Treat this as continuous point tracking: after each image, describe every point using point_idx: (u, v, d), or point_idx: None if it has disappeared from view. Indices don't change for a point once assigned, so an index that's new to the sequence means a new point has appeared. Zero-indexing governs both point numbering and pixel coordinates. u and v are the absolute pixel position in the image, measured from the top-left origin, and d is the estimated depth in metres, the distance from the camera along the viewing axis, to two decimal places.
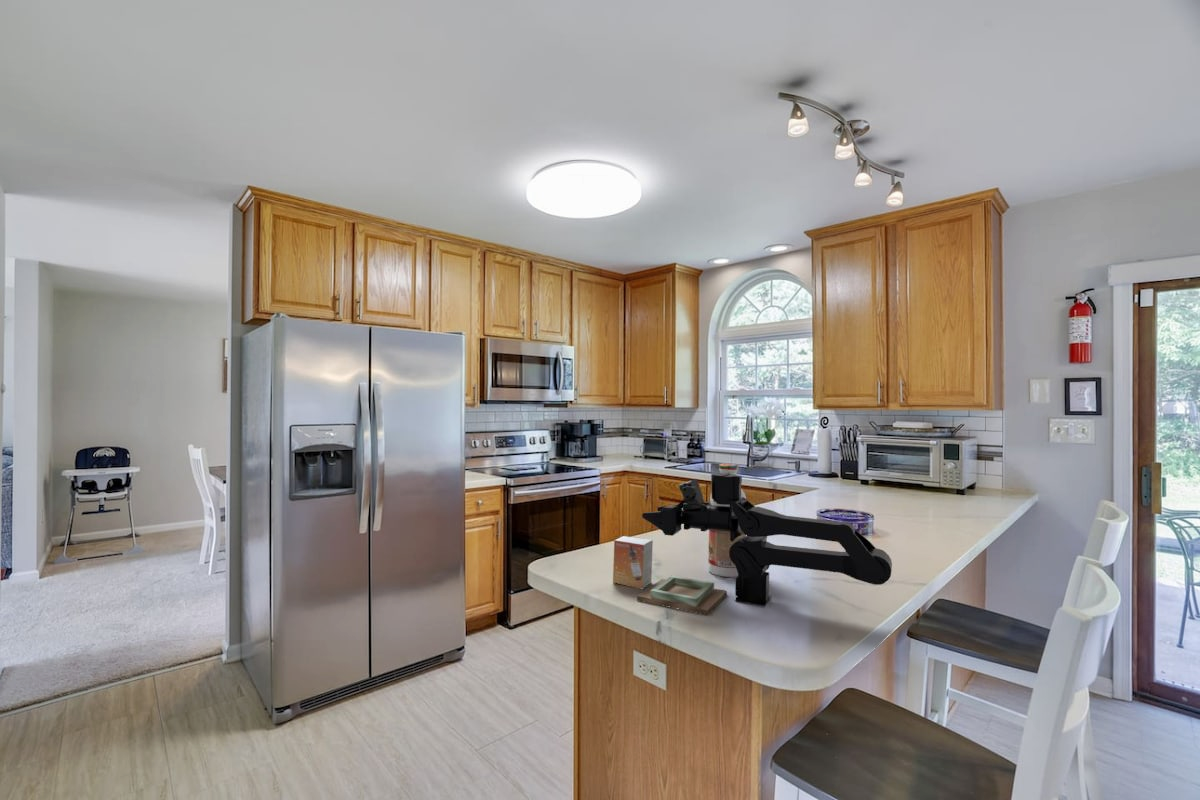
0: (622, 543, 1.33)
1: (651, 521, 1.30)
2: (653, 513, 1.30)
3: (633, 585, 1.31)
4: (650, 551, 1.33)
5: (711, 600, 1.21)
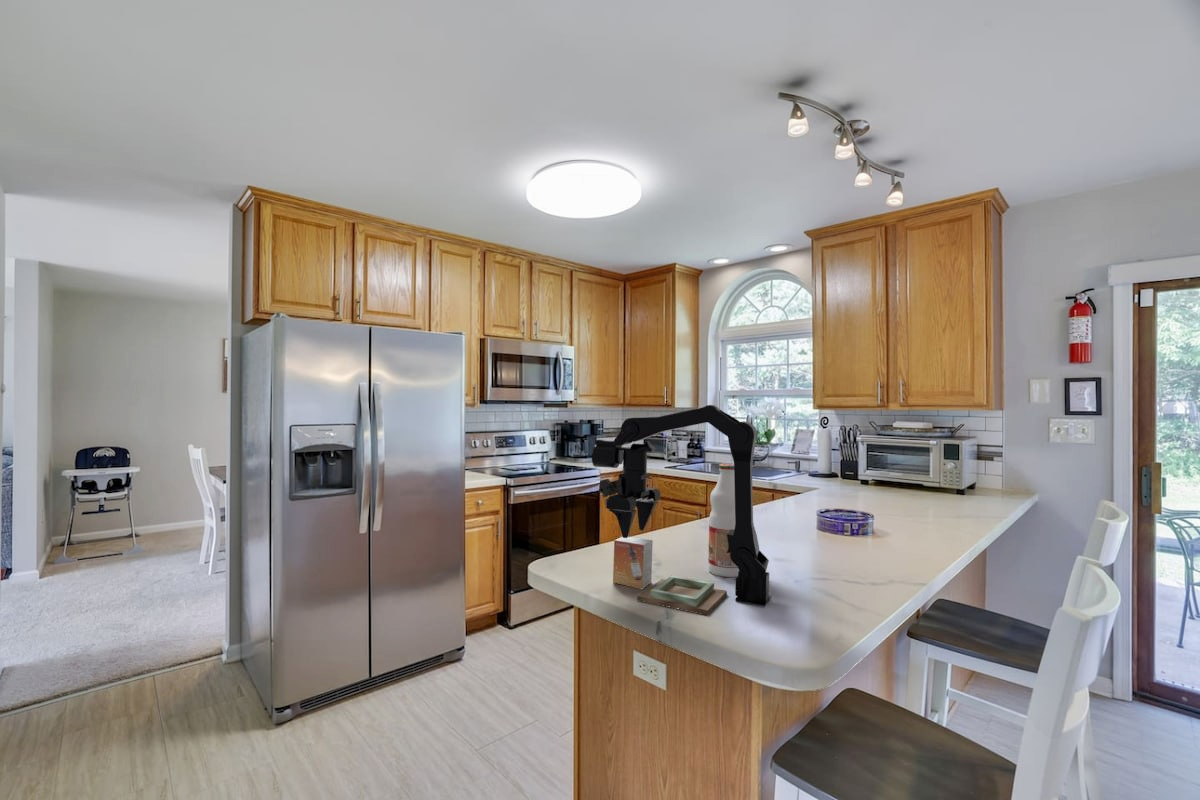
0: (622, 543, 1.33)
1: (627, 527, 1.29)
2: (619, 524, 1.30)
3: (633, 585, 1.31)
4: (650, 551, 1.33)
5: (711, 600, 1.21)
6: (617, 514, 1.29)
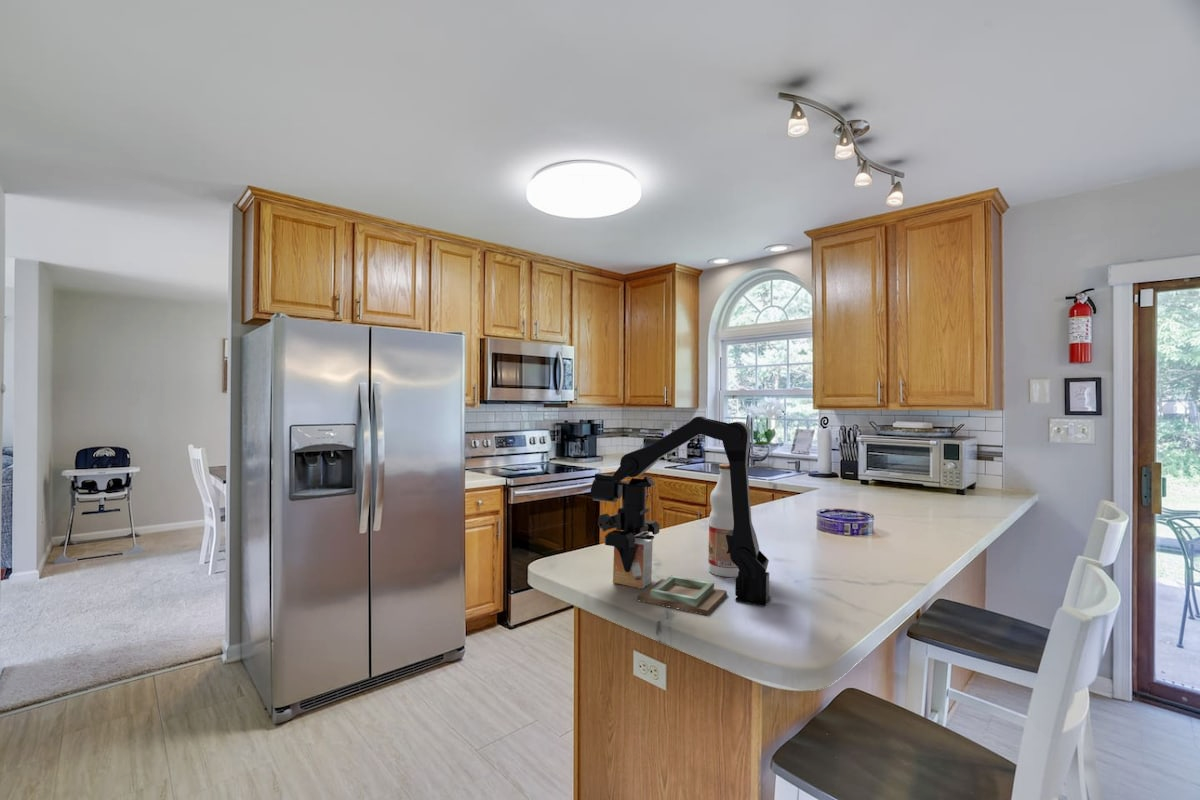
0: None
1: (629, 561, 1.30)
2: (621, 558, 1.31)
3: (633, 585, 1.31)
4: (650, 551, 1.33)
5: (711, 600, 1.21)
6: (619, 548, 1.31)
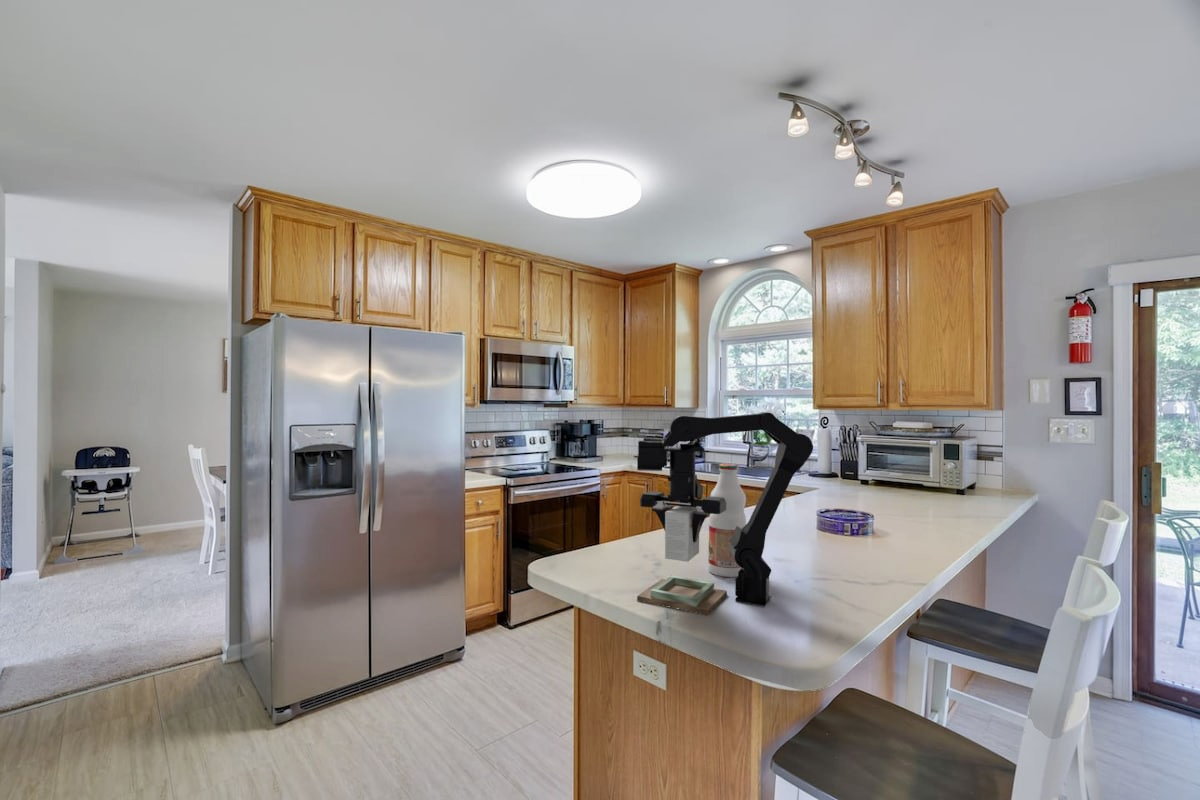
0: None
1: None
2: None
3: None
4: (681, 524, 1.21)
5: (711, 600, 1.21)
6: None
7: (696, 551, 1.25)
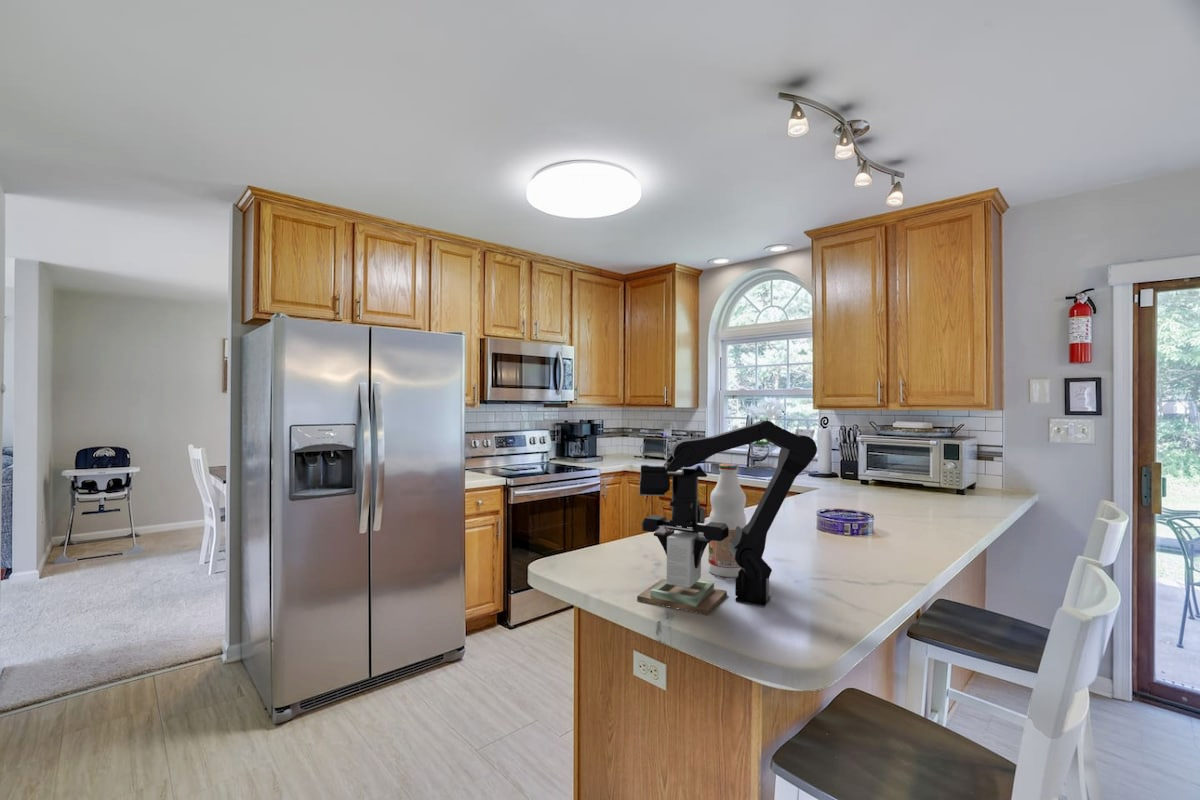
0: None
1: None
2: None
3: None
4: (682, 550, 1.21)
5: (711, 600, 1.21)
6: None
7: (697, 576, 1.25)
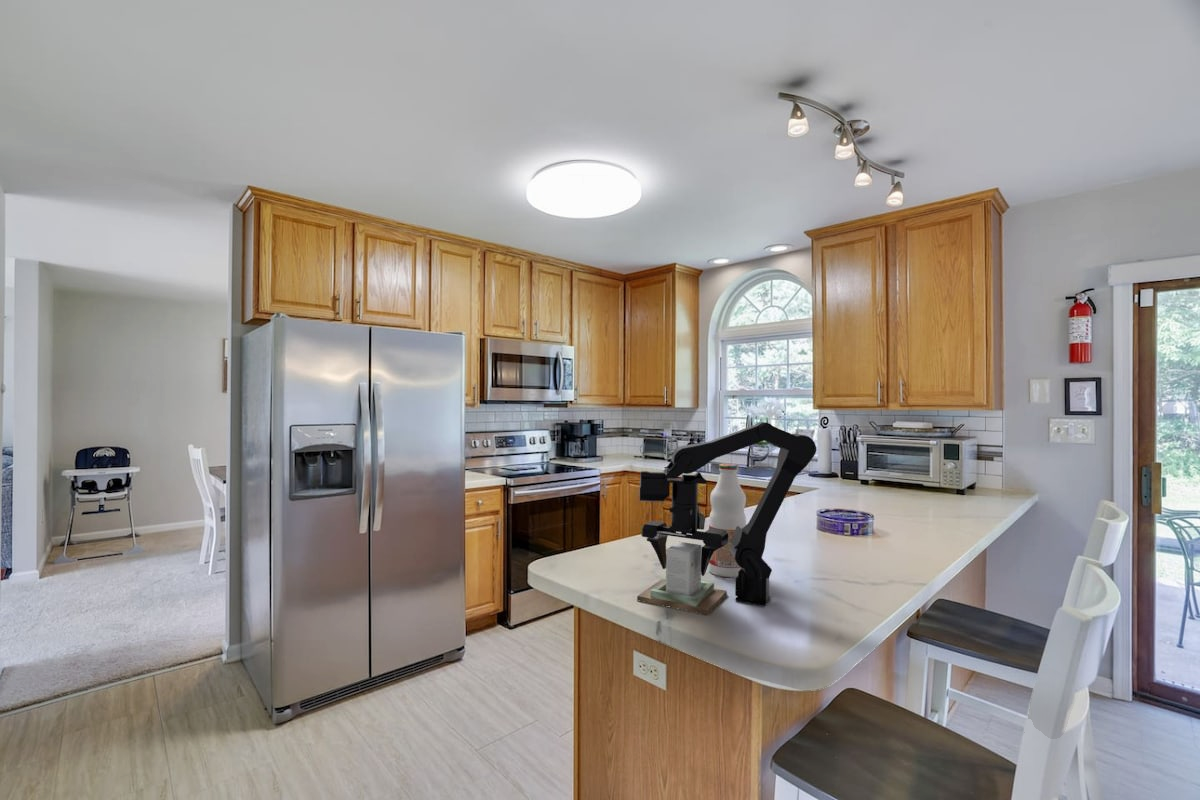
0: None
1: None
2: None
3: None
4: (682, 562, 1.21)
5: (711, 600, 1.21)
6: None
7: (697, 589, 1.25)
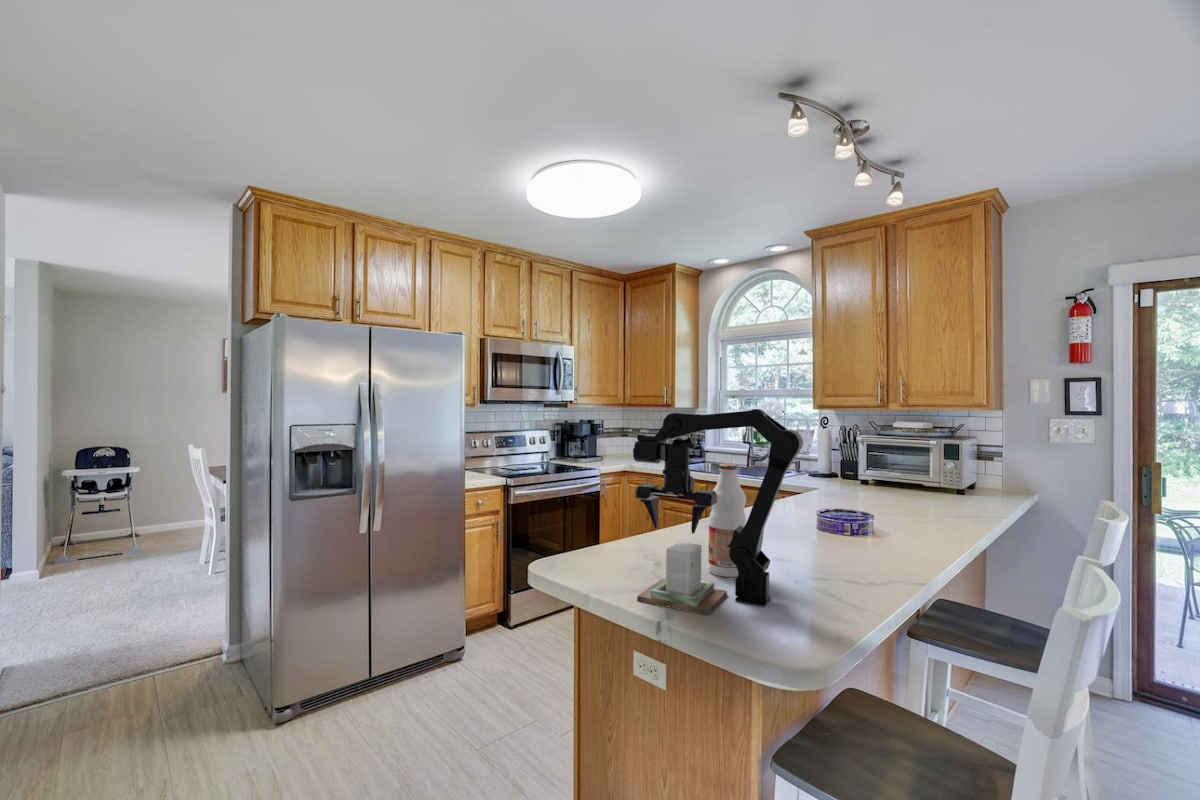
0: None
1: None
2: None
3: None
4: (682, 562, 1.21)
5: (711, 600, 1.21)
6: None
7: (697, 589, 1.25)
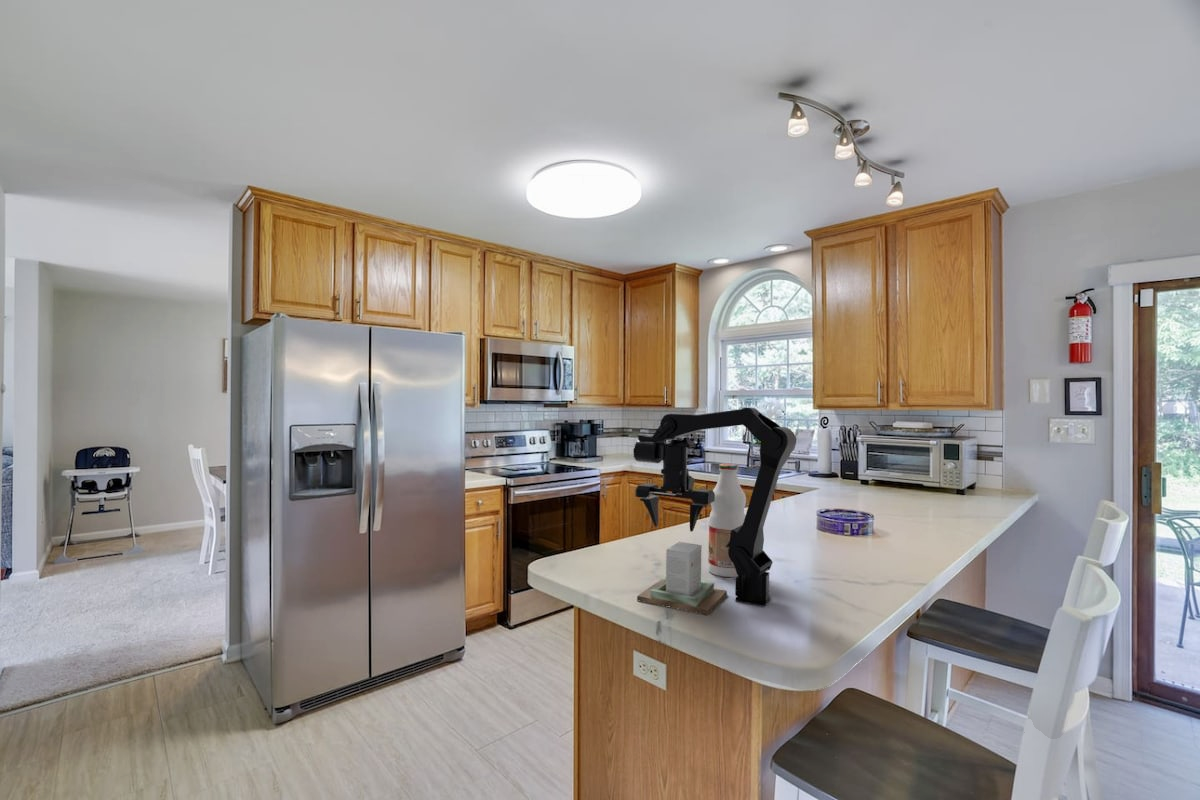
0: None
1: None
2: None
3: None
4: (682, 562, 1.21)
5: (711, 600, 1.21)
6: None
7: (697, 589, 1.25)
